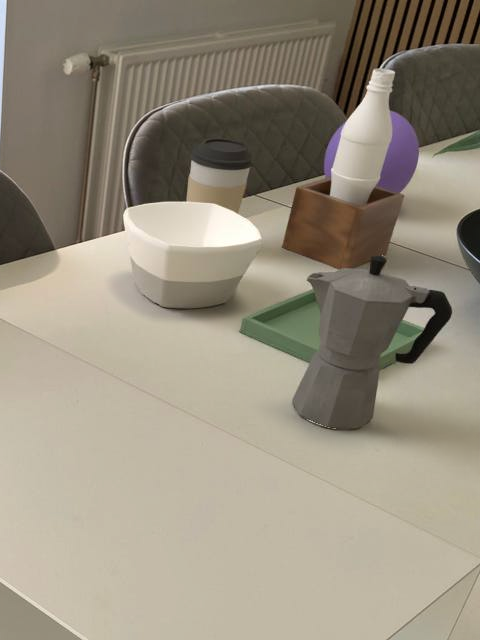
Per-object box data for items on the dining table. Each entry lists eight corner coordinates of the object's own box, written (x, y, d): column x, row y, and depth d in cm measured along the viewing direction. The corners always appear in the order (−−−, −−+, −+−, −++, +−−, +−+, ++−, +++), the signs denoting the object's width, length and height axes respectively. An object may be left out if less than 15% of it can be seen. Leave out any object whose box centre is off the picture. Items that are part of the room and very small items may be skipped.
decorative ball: (411, 203, 175) (441, 110, 165) (389, 227, 165) (419, 129, 155) (328, 185, 180) (353, 93, 170) (302, 206, 170) (326, 110, 160)
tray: (427, 345, 131) (432, 330, 129) (354, 382, 121) (359, 367, 120) (314, 300, 140) (318, 286, 139) (239, 331, 131) (242, 317, 129)
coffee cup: (187, 258, 149) (206, 151, 139) (167, 236, 156) (184, 132, 146) (243, 257, 151) (266, 151, 141) (221, 235, 157) (242, 132, 147)
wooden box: (385, 254, 155) (404, 194, 149) (345, 271, 149) (363, 209, 143) (322, 232, 161) (338, 173, 155) (281, 247, 155) (296, 186, 149)
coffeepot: (268, 416, 114) (310, 259, 102) (280, 381, 120) (321, 230, 108) (406, 447, 110) (466, 289, 98) (411, 410, 117) (468, 257, 105)
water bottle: (303, 251, 154) (350, 70, 138) (320, 239, 159) (368, 62, 142) (347, 263, 151) (401, 80, 135) (363, 250, 156) (417, 71, 139)
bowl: (97, 271, 143) (106, 203, 137) (207, 263, 148) (220, 197, 142) (148, 323, 131) (160, 251, 125) (266, 313, 136) (283, 243, 129)
